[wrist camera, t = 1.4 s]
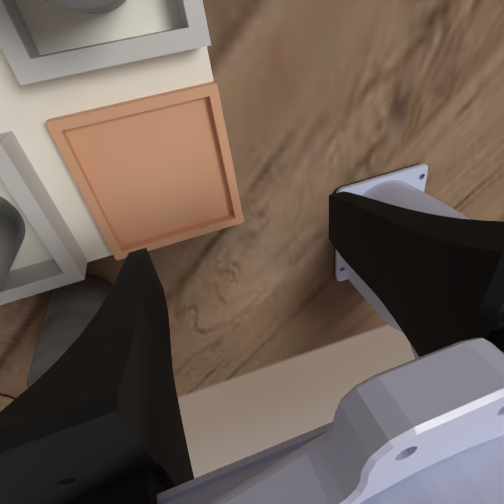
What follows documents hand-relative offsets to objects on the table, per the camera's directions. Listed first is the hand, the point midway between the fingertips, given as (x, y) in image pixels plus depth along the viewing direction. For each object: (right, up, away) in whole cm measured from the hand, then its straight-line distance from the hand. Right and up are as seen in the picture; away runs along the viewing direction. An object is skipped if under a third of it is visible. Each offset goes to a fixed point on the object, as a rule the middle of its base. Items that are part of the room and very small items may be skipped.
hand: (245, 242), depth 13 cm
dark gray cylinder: (-12, -4, +11) cm, 17 cm away
